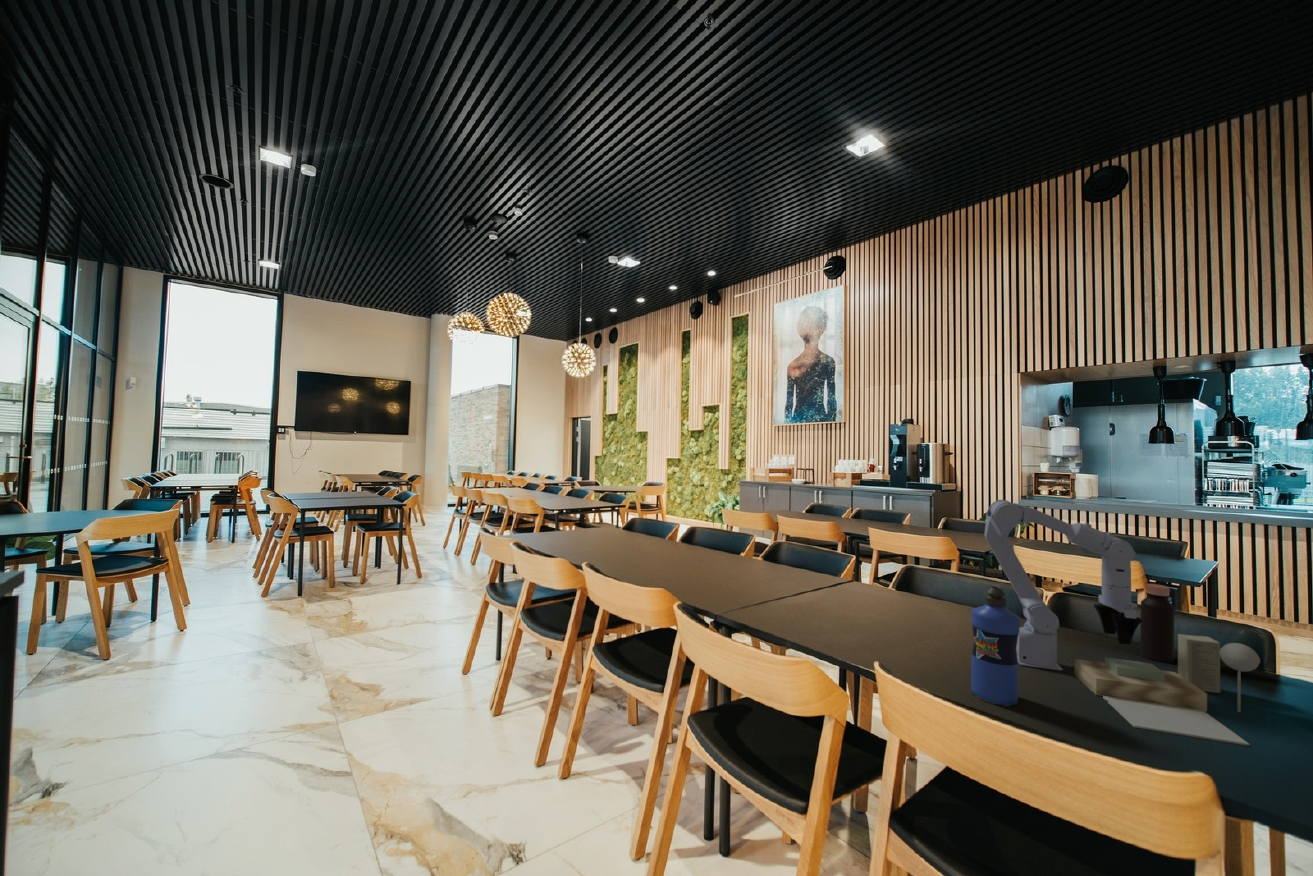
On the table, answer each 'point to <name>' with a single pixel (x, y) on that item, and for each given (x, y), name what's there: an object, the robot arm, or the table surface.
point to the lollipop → (1239, 662)
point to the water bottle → (995, 650)
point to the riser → (1141, 686)
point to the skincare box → (1199, 661)
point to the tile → (1134, 669)
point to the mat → (1173, 720)
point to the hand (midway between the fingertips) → (1116, 638)
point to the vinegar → (1157, 624)
